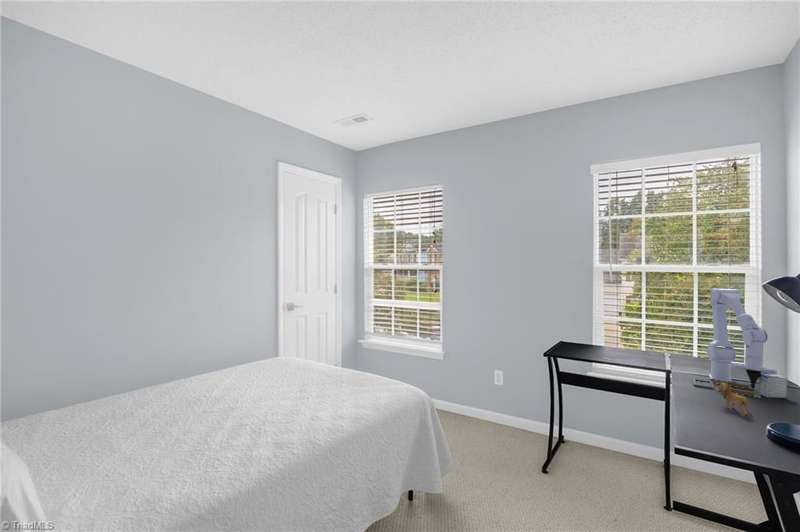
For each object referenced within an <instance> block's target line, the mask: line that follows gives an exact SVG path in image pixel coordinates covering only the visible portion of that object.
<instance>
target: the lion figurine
mask: <svg viewBox="0 0 800 532" xmlns="http://www.w3.org/2000/svg"><path fill="white" fill-rule="evenodd" d="M715 389H716V392H717V393H720V396H722V397H723V399H724V400H725V405H726V406H724V409H727V408H729V409H736V405H737V408H738V410H740V412H741V413H740V414H739V416H740V417H745V415H748V416H749V417H750V418H755V417H754V416H753V415H752V414H751V413H750V411H749V409H748V404H749V401H748V399H747V397H746V396H744V395H738V394H736V392H735V390H734V389H735V388H734V387H731V386H730V385H728V384H726V383H720V385H719V384H718V387H717V386H716V387H715ZM730 402H731V406H730Z"/></svg>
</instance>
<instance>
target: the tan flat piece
mask: <svg viewBox="0 0 800 532" xmlns="http://www.w3.org/2000/svg"><path fill="white" fill-rule="evenodd" d="M713 382H714V383H718V384H717V385H718V386H716V387H719V384H720V383H726V384H728V385H731V386H738V387H744V388H749V389H754V390H753V391H747V390H741V389H738V388H736V389H735V388H733V389H734V390H735V392H736V393H738V394H744V395H749V396H748V397H750V396H753V397H752V398H756V397H758V398H757V399H761V396H762V395H761V392H759V391H758V390H756V385H755V386H754V388H751V382H750V383H749V382H748V384H746V383H740V382H733V381H732V382H727V381H721V380H715V379H714V381H713ZM749 389H748V390H749ZM744 395H743V396H744Z"/></svg>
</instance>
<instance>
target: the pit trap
mask: <svg viewBox="0 0 800 532" xmlns="http://www.w3.org/2000/svg"><path fill="white" fill-rule="evenodd" d="M698 381H700V383H703V382H707V383H710V385H711V386H705V385H699V384H696V383H698ZM693 383H694V384H693ZM692 384H693V387H696V386H700V387H699V388H702V387H706V388H705V389H707V388H713V389H714V390H715V386H714V384H713V381H711V380H705V379H698V378H693V379H692ZM713 389H712V390H713Z"/></svg>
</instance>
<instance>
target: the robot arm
mask: <svg viewBox="0 0 800 532" xmlns="http://www.w3.org/2000/svg"><path fill="white" fill-rule="evenodd" d="M741 298H742V297H741V294H740V291H739V290H738V289H736V288H730V289H729V288H716V287H715V288H712V289H711V291H710V292H709V304H710V306H711V311H712V324H713V325H712V327H713V340H712V341H711V342H709V343H708V344H707V350H706V354H707V357H708V358H709V359H710V361H711V364H710V365H711V366H710V367H711V368H710V372H711V373H708V375H709V379H711V380H713V379H715V380H723V381H728V382H733V380H732V379H731V369H734V370H735V369H736V370H741V371H745V372H746V374H747V376H748V378H749V381H750V384H751V388H754V386H755V387H756V383H757V382H758V381H757V380H758V379H759V377H760V375H761V374H769V375H778V370H777V369H775V368H770V367H764V365H763V363H764V343H766V342H767V341H768V339H769V338H768V337H769V336H768V333H767V331H766V330H765V329H763V328H762V327H759V326H758V325H759V324H758V323H757V322H756V320H754V318H753V316H752V315H751V314H747V311H746V310H745V308H744V306H743V304H742V302H741ZM728 307H730V309H731V310H732V312H733V313H734V314H735V315H736V319H735V320H736V323H737V324H738V326H739V327H740V329H741V330H742V334H741V336H742V340H743V344H744V345H745V346H744V347H745V348H744V349H745V351H744V352H745V353H744V364H742V363H733V362H734V361H735V359H736V358H737V352H736V349H735V346H734V344H733V343H731V342H730V341H729V334H728V324H727V323H728V321H727V308H728Z"/></svg>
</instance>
